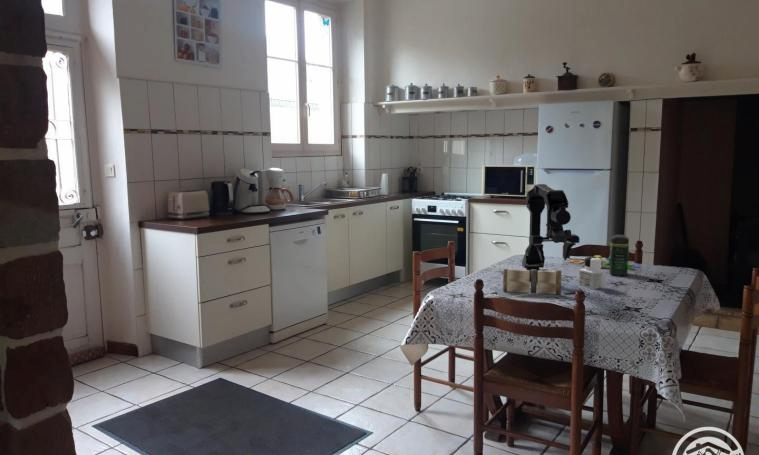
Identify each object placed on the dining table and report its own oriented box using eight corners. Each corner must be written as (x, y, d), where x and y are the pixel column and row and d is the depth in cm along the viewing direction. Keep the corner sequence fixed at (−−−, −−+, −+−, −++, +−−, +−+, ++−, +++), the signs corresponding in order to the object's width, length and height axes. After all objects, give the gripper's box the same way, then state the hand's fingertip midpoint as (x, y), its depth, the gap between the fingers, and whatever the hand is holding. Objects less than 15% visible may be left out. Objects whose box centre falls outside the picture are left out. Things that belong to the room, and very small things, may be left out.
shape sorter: (564, 266, 294) (565, 258, 293) (573, 260, 310) (573, 252, 309) (636, 272, 276) (637, 263, 276) (641, 265, 292) (642, 256, 292)
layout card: (493, 290, 246) (493, 288, 246) (553, 288, 247) (553, 286, 247) (501, 298, 231) (501, 297, 231) (565, 297, 232) (565, 295, 232)
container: (578, 286, 249) (579, 256, 247) (592, 284, 252) (593, 255, 250) (591, 290, 242) (592, 259, 240) (606, 288, 245) (607, 258, 243)
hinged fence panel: (536, 291, 238) (536, 269, 236) (536, 293, 235) (536, 270, 234) (503, 290, 242) (503, 268, 241) (502, 291, 240) (503, 269, 238)
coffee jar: (628, 276, 265) (629, 236, 263) (609, 275, 268) (610, 236, 266) (627, 272, 274) (628, 233, 272) (609, 271, 277) (610, 233, 275)
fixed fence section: (561, 293, 235) (561, 269, 233) (561, 294, 232) (561, 271, 231) (537, 291, 237) (538, 268, 236) (537, 293, 235) (537, 270, 234)
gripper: (537, 224, 222) (536, 264, 224) (585, 223, 222) (584, 263, 224) (528, 221, 233) (528, 259, 235) (574, 220, 233) (573, 258, 235)
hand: (553, 260), depth 232 cm, fingers open, 9 cm apart
